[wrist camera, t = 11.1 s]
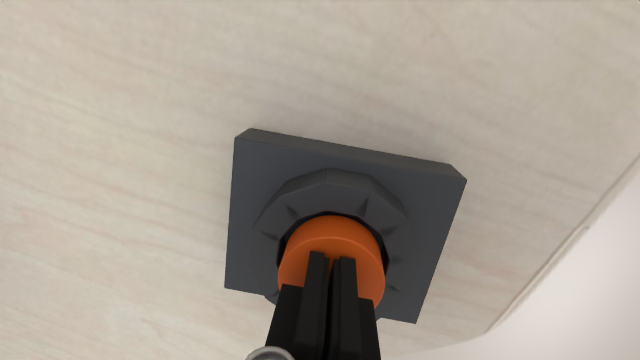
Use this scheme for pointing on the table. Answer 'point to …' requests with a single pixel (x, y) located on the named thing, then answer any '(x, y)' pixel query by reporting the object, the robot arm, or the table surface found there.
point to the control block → (338, 211)
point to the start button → (335, 253)
